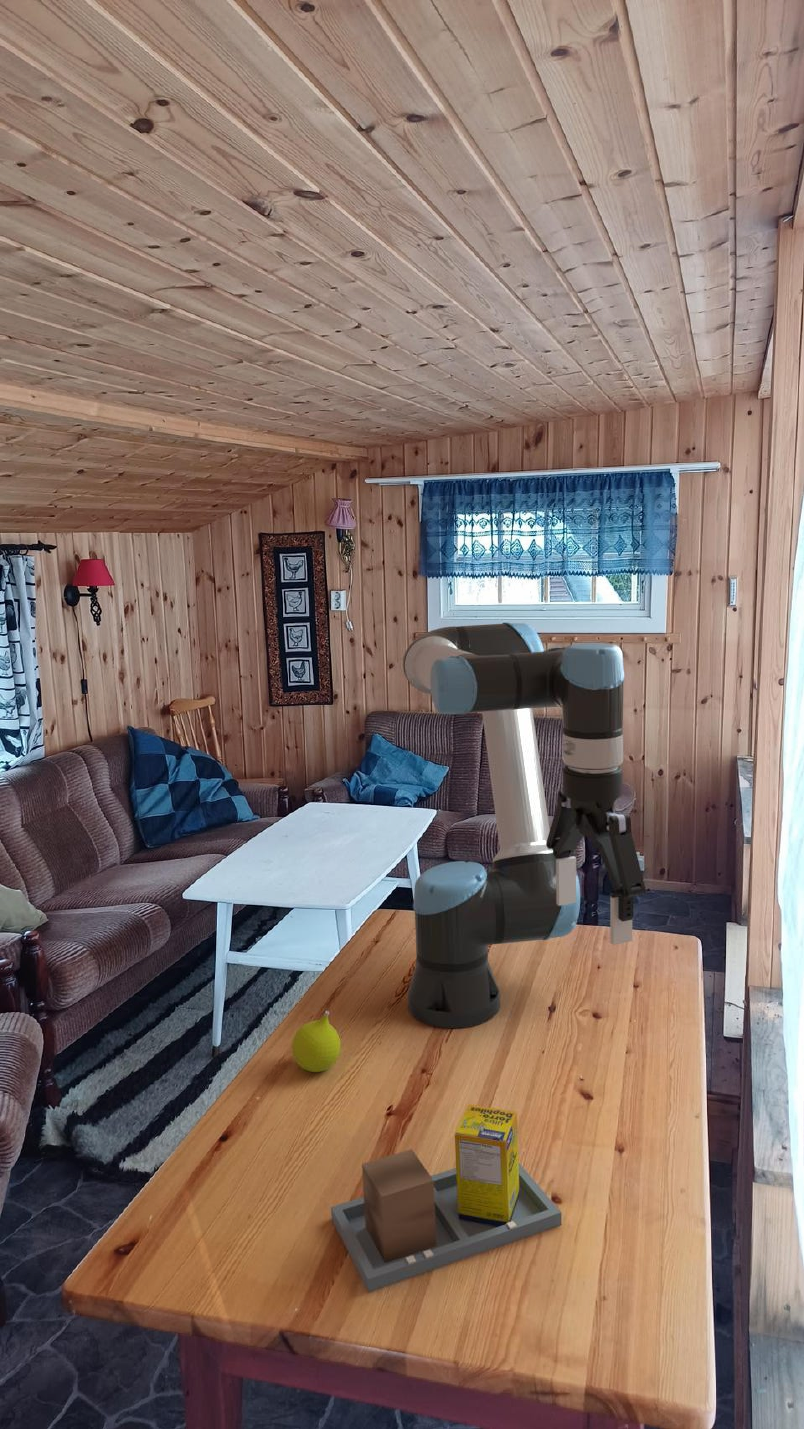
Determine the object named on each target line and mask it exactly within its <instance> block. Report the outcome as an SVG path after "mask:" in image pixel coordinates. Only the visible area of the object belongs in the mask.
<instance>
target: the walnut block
mask: <svg viewBox="0 0 804 1429" xmlns="http://www.w3.org/2000/svg"><path fill="white" fill-rule="evenodd" d="M361 1167H362V1169H361V1170H362V1171H361V1172H362V1185H363V1187H362V1188H363V1197H364V1208H365V1226H366V1229H367V1231H368V1233H369V1235H370V1236H371V1238H372V1240H373V1242H374V1244H375V1246H376V1247H377V1249H378V1251H379V1253H380V1255H381V1257H382V1258H383V1260H384V1262H385V1263H387V1262H390V1261H393V1260H396V1259H399V1258H402V1257H405V1256H408V1255H411V1254H413V1253H416V1252H419V1251H422V1250H425V1249H428V1248H431V1247H434V1246H436V1228H435V1203H434V1180H433V1179H432V1177H431V1176H432V1175H430V1174H429V1171H428V1170H427V1169H426V1167H425V1165H424V1164H423V1163H422V1162H421V1161H420V1158H418V1156H417V1155H416V1153H415V1151H414V1150H413V1149H407V1150H404V1151H400V1152H398V1153H392V1154H390V1155H387V1156H384V1157H381V1158H378V1159H374V1160H370V1161H367V1162H363V1163H361Z"/></svg>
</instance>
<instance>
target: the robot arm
mask: <svg viewBox="0 0 804 1429" xmlns="http://www.w3.org/2000/svg"><path fill="white" fill-rule="evenodd" d="M543 645H544V644H543V643H542V640H541V638H540V636H539V634H538V633H537V631H536V629H534V628H533V627H532V626H531V625H529V624H528V623H527V624H526V623H524V622H523V623H519V622H518V623H516V622H513V623H510V622H507V621H506V622H502V623H493V624H492V623H490V624H478V625H477V624H476V625H475V624H474V625H461V626H455V625H454V626H444V627H440V628H436V629H433V630H430V631H427V632H425V633H424V634H421V635H420V636H418V637H416V638H415V639H414V640H413V641H412V642H411V643H410V644H409V645H408V647H407V648H406V650H405V652H404V655H403V659H402V668H403V669H402V670H403V673H404V676H405V678H406V680H407V681H408V683H409V684H410V685H411V686H412V687H413V688H414V689H416V690H417V691H419V692H421V693H425V694H427V695H431V699H432V700H431V701H432V703H433V706H434V709H435V710H436V711H437V712H438V713H439V714H442V715H443V714H444V715H454V714H455V715H466V714H469V713H470V714H471V713H482V721H483V729H484V736H485V743H486V751H487V752H486V753H487V760H488V768H489V776H490V782H491V784H490V785H491V791H492V797H493V798H492V799H493V805H494V812H495V813H494V814H495V821H496V830H497V836H498V838H497V839H498V843H499V846H498V847H499V851H498V852H497V853H496V855H495V856H494V858H493V859H492V862H491V863H492V869H493V871H487V870H486V868H485V867H484V866H483V865H482V864H480V863H479V862H475V861H470V860H469V861H467V862H466V861H465V860H459V861H449V862H445V863H441V864H439V865H435V866H433V867H431V868H428V869H427V870H425V872H423V873H421V874H420V875H419V876H418V878H417V880H416V882H415V884H414V890H413V891H414V892H413V903H412V907H413V911H414V924H415V925H414V926H415V949H416V950H415V952H416V963H415V964H416V965H415V967H414V970H413V974H412V976H411V977H412V978H411V980H410V984H409V987H408V991H407V1009H408V1012H409V1013H410V1015H411V1016H412V1017H413V1018H414V1019H415V1020H417V1021H419V1022H421V1023H423V1024H426V1025H428V1026H431V1027H432V1026H433V1027H436V1028H437V1027H438V1028H447V1029H460V1028H467V1027H473V1026H477V1025H481V1024H483V1023H485V1022H487V1021H489V1020H491V1019H492V1018H494V1017H495V1016H496V1015H497V1013H498V1012H499V1011H500V1008H501V996H500V989H499V986H498V984H497V982H496V978H495V976H494V972H493V971H492V968H491V965H490V961H489V950H488V948H489V946H491V945H501V944H502V945H503V944H510V943H521V942H522V943H523V942H531V941H541V940H542V941H549V939H555V938H561V937H565V936H568V935H570V934H571V933H572V932H573V930H574V929H575V927H576V925H577V922H578V919H579V914H580V906H581V888H580V887H581V886H580V880H579V876H578V872H577V857H576V856H574V855H577V853H578V852H577V850H576V848H577V847H578V845H579V844H580V842H581V841H582V839H583V838H584V836H586V837H587V838H588V839H590V840H591V842H592V844H593V846H594V848H595V847H596V848H597V849H598V851H599V854H600V856H601V859H602V861H603V864H604V868H605V870H606V872H607V875H608V878H609V880H610V883H611V886H612V889H613V890H614V891H613V892H611V893H610V894H609V895H610V898H609V899H610V903H609V904H610V906H609V908H610V912H609V913H610V914H609V915H610V916H609V918H610V923H609V925H610V926H609V929H610V931H609V932H610V933H609V934H610V935H609V936H610V939H609V942H610V944H612V945H613V946H615V945H620V944H624V943H629V942H633V918H634V900H635V899H634V897H635V896H639V895H644V894H645V893H646V890H647V889H646V886H645V882H644V878H643V873H642V870H641V865H640V862H639V857H638V853H637V848H636V847H635V843H634V838H633V833H632V820H631V816H630V814H629V813H623V814H619V813H618V814H617V813H616V808H615V802H616V801H617V799H619V798H620V797H621V796H622V795H623V791H624V790H623V781H624V779H623V778H624V777H623V776H624V772H623V768H622V767H621V765H622V764H623V763H624V731H623V730H624V729H623V727H624V721H623V720H624V681H625V673H626V672H625V670H624V659H623V658H624V657H623V656H624V655H623V652H622V649H621V647H619V645H616V644H614V643H605V642H579V643H572V644H569V645H567V646H564V647H562V646H553V647H549V648H546V649H544V646H543ZM542 708H543V709H544V708H562V710H561V713H562V715H561V716H562V735H563V736H562V744H561V750H562V761H563V763H564V764H565V766H564V767H563V768H562V790H558V792H557V801H556V808H555V812H554V816H553V818H552V821H551V826H550V824H549V817H548V808H547V802H546V795H545V789H544V782H543V774H542V768H541V761H540V754H539V753H540V752H539V747H538V741H537V734H536V733H537V732H536V727H535V721H534V720H535V719H534V713H533V712H534V711H533V709H542Z"/></svg>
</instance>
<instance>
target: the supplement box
mask: <svg viewBox="0 0 804 1429" xmlns="http://www.w3.org/2000/svg"><path fill="white" fill-rule="evenodd" d="M459 1122H460V1123H459V1124H458V1126H457V1127H456V1130H455V1133H454V1142H455V1143H454V1147H455V1152H454V1153H455V1168H456V1177H457V1197H458V1216H459V1219H463V1220H469V1221H474V1222H480V1223H485V1224H491V1225H496V1226H502V1225H505V1224H507V1223H508V1222H511V1219H512V1216H513V1213H514V1209H515V1206H516V1203H517V1200H518V1197H519V1163H520V1162H519V1134H518V1133H519V1132H518V1112H517V1111H514V1110H507V1109H501V1108H495V1107H494V1108H492V1107H488V1106H481V1105H476V1104H469V1103H468V1105H467V1107H466V1109H465V1111H464V1114H463V1116H462V1118H461V1120H460V1121H459Z"/></svg>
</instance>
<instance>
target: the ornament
mask: <svg viewBox="0 0 804 1429" xmlns="http://www.w3.org/2000/svg"><path fill="white" fill-rule="evenodd" d="M329 1015H330V1012H329V1010H325V1012H324V1014H323V1016H322V1017H321V1018H320V1019H318V1020H313V1021H309V1022H306V1023H305V1024H303V1025H301V1027H299V1029H297V1031H296V1032H295V1034H294V1037H293V1039H292V1043H291V1052H292V1056H293V1058H294V1060H295V1062H296V1063H297V1064H298V1066H299V1067H300V1068H302V1069H303V1070H305V1071H308V1072H310V1073H311V1072H312V1073H320V1072H324V1071H327V1070H329V1069H330V1068H331V1067H332V1066H334V1064H335V1063H336V1062H337V1060H338V1059H339V1056H340V1053H341V1047H342V1046H341V1038H340V1036H339V1033H338V1032H337V1030H336V1029H335V1028H334V1027H333V1026H332V1024H330V1021H329Z"/></svg>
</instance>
